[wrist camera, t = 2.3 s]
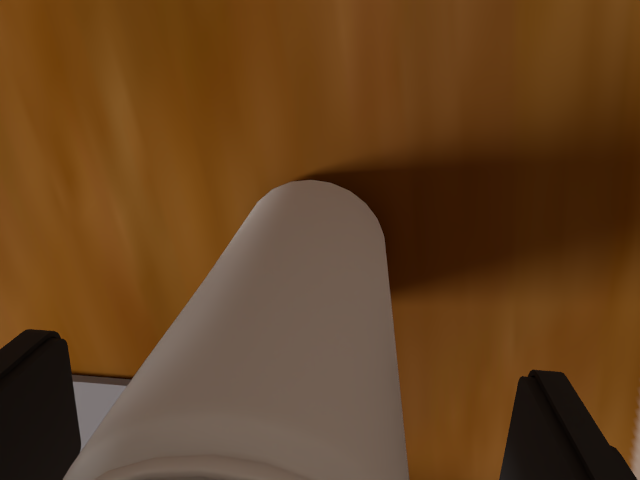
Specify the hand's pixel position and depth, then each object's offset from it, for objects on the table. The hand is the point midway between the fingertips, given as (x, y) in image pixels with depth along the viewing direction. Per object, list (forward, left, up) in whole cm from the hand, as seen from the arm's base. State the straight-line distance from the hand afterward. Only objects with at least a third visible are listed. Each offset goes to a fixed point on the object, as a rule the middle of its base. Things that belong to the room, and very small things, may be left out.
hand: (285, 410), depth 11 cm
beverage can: (-1, 0, -8) cm, 8 cm away
